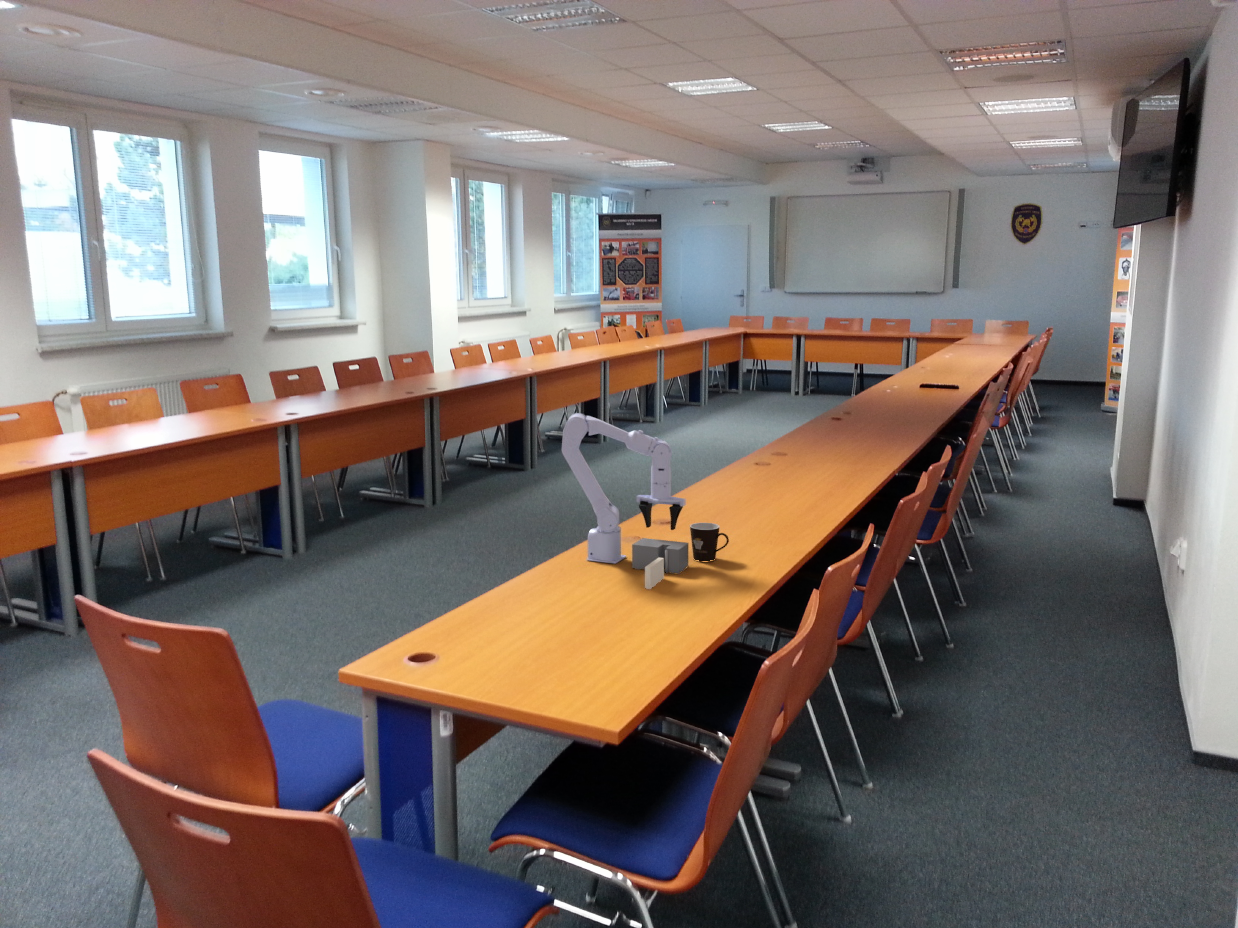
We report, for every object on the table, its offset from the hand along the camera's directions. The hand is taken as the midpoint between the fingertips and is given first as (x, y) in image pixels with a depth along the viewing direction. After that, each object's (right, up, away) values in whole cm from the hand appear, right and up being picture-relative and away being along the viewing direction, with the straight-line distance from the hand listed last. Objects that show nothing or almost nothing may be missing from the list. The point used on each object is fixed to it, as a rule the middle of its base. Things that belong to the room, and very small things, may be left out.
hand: (660, 528), depth 271 cm
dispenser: (0, -11, -7) cm, 13 cm away
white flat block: (-3, -14, -21) cm, 26 cm away
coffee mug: (+14, -10, 0) cm, 17 cm away
